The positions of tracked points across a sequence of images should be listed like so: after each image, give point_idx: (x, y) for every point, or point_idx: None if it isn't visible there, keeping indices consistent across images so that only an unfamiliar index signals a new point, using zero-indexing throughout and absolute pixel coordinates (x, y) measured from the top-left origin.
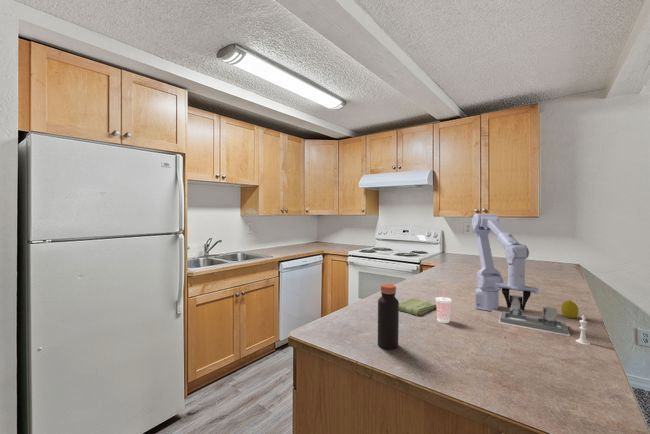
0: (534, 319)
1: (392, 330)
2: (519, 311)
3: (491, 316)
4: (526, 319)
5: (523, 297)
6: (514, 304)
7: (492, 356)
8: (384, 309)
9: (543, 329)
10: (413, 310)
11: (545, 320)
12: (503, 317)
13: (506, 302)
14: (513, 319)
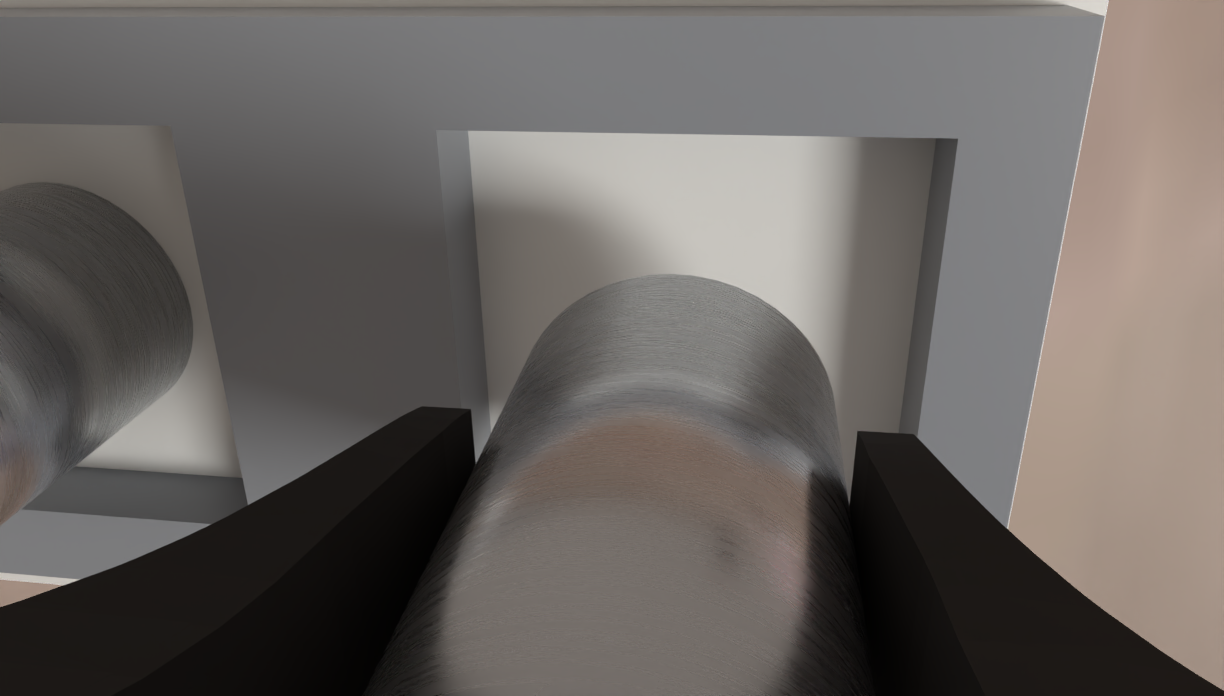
0: (297, 403)
1: None
2: (553, 357)
3: (1187, 499)
4: (442, 309)
5: (151, 657)
6: (681, 450)
7: None
8: None
9: (113, 8)
10: None
11: (17, 265)
12: (993, 143)
13: (1000, 526)
14: (729, 112)
